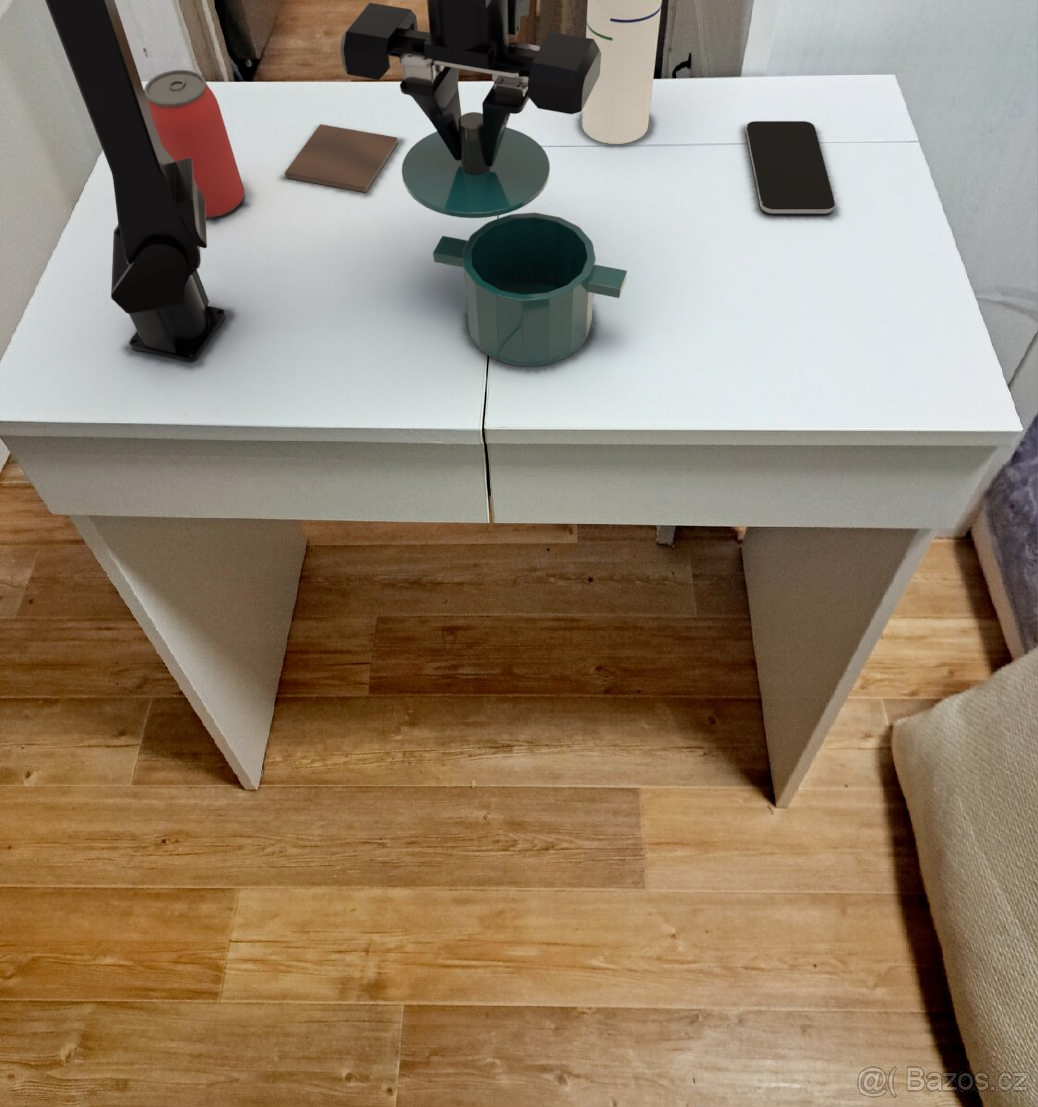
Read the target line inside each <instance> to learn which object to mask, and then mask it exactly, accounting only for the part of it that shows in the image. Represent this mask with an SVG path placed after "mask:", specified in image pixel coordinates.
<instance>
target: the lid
mask: <svg viewBox="0 0 1038 1107" xmlns="http://www.w3.org/2000/svg"><path fill="white" fill-rule="evenodd" d="M458 125H459V140H460V156H461V160H460V161H458V160H455V159H454V157H453V156H452V154H451V153H450V151H449V149H448V148H447V146H446V144H445V143H444V141H443V140H442V138H441V136H440V135H439V133H438V132H437V131H435V132H434V131H433V132H432V133H430V134H428V135H426V136H425V137H423V138H422V139H420V140H418V141H417V142H416V143H415V144H414V145H413V146H412V147H411V148H410V149H409V150H408V151H407V153H406V155H405V156H404V158H403V161H402V165H401V176H402V182H403V185H404V187H405V189H406V191H407V193H408V194H409V195H410V197H411V198H412V199H413V200H415V201H416V202H417V203H418V204H420V205H421V206H423V207H424V208H427V209H429V210H431V211H433V212H435V213H438V214H442V215H444V216H445V215H446V216H449V217H455V218H464V219H484V218H492V217H498V216H502V215H506V214H509V213H512V212H514V211H517V210H520V209H521V208H524V207H526V206H527V205H528V204H530V203H531V202H533V201H534V200H535V199H537V198H538V197H539V196H540V195H541V194H542V193H543V191H544V189H545V188H546V186H547V185H548V183H549V180H550V173H551V166H550V160H549V157H548V155H547V152H546V151H545V149H544V148H543V147H542V145H540V143H538V142H537V141H536V140H535V139H534V138H532V137H531V136H529V135H527V134H525V133H524V132H521V131H519V130H516V129H514V128H510V127H507V126H506V129H505V132H504V135H503V138H502V141H501V144H500V147H499V150H498V154H497V157H496V160H495V162H494V164H493V165H492V167H489V166H487V164H486V159H485V155H484V134H483V112H477V111H471V112H466V113H464V114H461V117H460V118H459V120H458Z"/></svg>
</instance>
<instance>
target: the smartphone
mask: <svg viewBox="0 0 1038 1107" xmlns="http://www.w3.org/2000/svg"><path fill="white" fill-rule="evenodd" d="M745 136H746V139H747V140H746V141H747V144H748V150H749V155H750V161H751V164H752V170H753V175H754V180H755V184H756V185H755V186H756V191H757V197H758V201H759V206H760V209H761V210H762V211H763V212H765V213H767V214H799V215H800V214H801V215H802V214H806V215H807V214H809V215H811V214H813V215H814V214H817V215H818V214H819V215H820V214H830V213H831V212H833V211H834V209H835V205H836V201H835V198H834V193H833V189H832V187H831V186H832V185H831V182H830V179H829V175H828V171H827V168H826V163H825V161H824V160H825V159H824V156H823V153H822V149H821V146H820V141H819V138H818V134H817V130H816V127H815V125H814V124H813V123H812V122H810V121H806V120H775V121H774V120H754V121H750V122H749V123H747V124H746V127H745Z"/></svg>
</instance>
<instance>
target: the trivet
mask: <svg viewBox="0 0 1038 1107" xmlns="http://www.w3.org/2000/svg"><path fill="white" fill-rule="evenodd" d="M398 144H399V139H398V137H396V136H391V135H386V134H380V133H373V132H367V131H362V130H357V129H350V128H345V127H339V126H333V125H327V124H318V126H317V128H316V130H315V131H314V132H313V133H312V135H311V136H310V137H309V139H308V140H307V142H305V144H304V146H303V147H302V148H301V149H300V151H299V152H298V154H297V155H296V157H295V158H294V159H293V161H292V162H291V164H290V165H289V166H288V167H287V169H286V170H285V171H284V176H285V178H286V179H291V180H296V181H301V182H307V183H313V184H318V185H323V186H329V187H334V188H341V189H345V190H350V191H355V192H360V193H361V192H362V193H367V192H368V191H369V189H370V187H371V185H372V184H373V182H374V181H375V180H376V178H377V176H378V175H379V173H380V171H381V170H382V168H383V167H384V166H385V164H386V163H387V161H388V159H389V157H390V156H391V154H392V153H393V152H394V150H395V148H396V147H397V145H398Z"/></svg>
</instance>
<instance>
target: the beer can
mask: <svg viewBox="0 0 1038 1107" xmlns="http://www.w3.org/2000/svg"><path fill="white" fill-rule="evenodd" d="M143 89H144V92H145V95H146V98H147V101H148V104H149V108H150V111H151V114H152V117H153V120H154V123H155V126H156V129H157V132H158V135H159V138H160V141H161V143H162V145H163V147H164V149H165V150H166V151H167V152H168V154H169V155H170V156H171V157H172V158H173V160H174V161H175V162H176V161H179V160H183V159H187V158H192V162H193V171H194V178H195V182H196V184H197V187H198V189H199V190H200V191H201V193H202V194H203V195H204V196H205V212H206V219H207V218H217V217H221V216H224V215H226V214H228V213H230V212H232V211H233V210H235V209H236V208H237V207H238V206H239V205H240V204H241V202H242V201H243V199H244V195H245V188H244V184H243V181H242V177H241V175H240V171H239V168H238V164H237V161H236V158H235V154H234V151H233V147H232V144H231V140H230V138H229V135H228V131H227V128H226V124H225V122H224V118H223V114H222V112H221V108H220V104H219V102H218V99H217V97H216V96H215V94H214V92H213V90H212V89H211V88H210V87H209V85H208V84H207V81H206V79H205V77H204V76H203V75H202V74H201V73H199V72H196V71H194V70H189V69H173V70H169V71H165V72H162V73H159V74H157V75H155V76H154V77H152V78H151V79H149V81H148V82H147V83H146V84H145V86H144V88H143Z"/></svg>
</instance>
